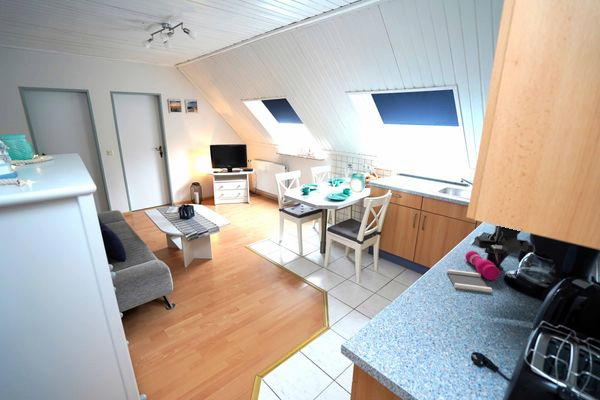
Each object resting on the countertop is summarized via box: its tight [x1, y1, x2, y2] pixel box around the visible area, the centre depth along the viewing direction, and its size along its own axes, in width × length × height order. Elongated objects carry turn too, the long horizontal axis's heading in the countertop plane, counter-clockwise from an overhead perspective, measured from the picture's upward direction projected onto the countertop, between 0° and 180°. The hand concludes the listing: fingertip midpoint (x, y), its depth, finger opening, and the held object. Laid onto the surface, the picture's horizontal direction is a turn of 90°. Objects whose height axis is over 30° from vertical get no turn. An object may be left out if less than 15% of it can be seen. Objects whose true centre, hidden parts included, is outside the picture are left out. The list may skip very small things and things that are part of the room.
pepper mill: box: [464, 250, 501, 281], centre depth 125 cm, size 7×7×20 cm
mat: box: [446, 269, 493, 294], centre depth 115 cm, size 12×13×2 cm
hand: (498, 263), depth 110 cm, fingers closed
